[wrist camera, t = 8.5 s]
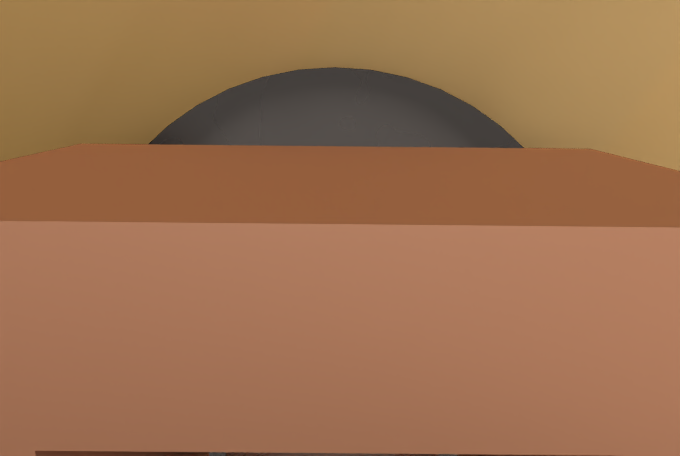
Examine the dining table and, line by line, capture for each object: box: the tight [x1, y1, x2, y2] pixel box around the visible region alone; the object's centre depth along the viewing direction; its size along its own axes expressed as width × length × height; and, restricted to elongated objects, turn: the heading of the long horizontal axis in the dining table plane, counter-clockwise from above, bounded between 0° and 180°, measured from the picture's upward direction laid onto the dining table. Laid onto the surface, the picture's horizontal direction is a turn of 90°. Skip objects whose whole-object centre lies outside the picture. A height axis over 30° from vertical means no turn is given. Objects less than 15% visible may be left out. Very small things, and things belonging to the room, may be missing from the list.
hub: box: [149, 67, 523, 456], centre depth 12 cm, size 12×12×10 cm
